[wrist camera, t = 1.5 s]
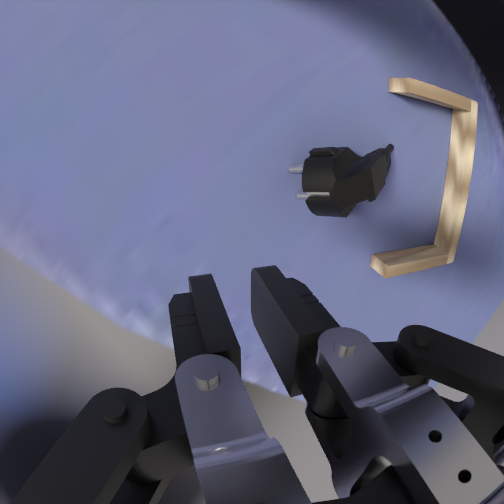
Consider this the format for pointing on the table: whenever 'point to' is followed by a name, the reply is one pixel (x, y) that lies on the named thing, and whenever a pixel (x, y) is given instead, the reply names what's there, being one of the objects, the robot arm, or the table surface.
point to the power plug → (341, 179)
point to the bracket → (454, 185)
